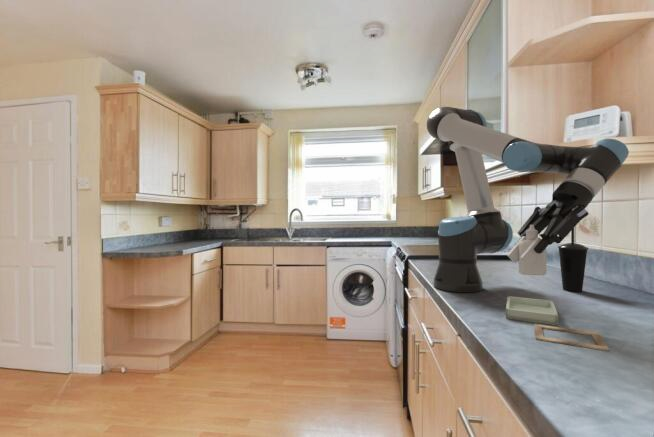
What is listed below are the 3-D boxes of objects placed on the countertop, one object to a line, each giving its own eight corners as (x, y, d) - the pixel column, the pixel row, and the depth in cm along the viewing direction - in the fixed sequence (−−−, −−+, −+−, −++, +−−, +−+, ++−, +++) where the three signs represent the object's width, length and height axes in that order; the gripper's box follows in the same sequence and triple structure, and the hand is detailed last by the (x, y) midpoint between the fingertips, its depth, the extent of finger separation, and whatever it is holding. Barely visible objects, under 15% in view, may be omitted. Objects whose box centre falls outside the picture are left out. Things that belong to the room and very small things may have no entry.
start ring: (535, 339, 63) (535, 337, 63) (534, 325, 71) (534, 323, 71) (608, 351, 58) (608, 349, 58) (598, 334, 65) (598, 332, 65)
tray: (505, 318, 75) (505, 308, 75) (507, 304, 87) (507, 296, 87) (558, 325, 70) (558, 315, 70) (552, 309, 81) (552, 300, 81)
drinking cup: (593, 294, 96) (593, 227, 95) (562, 292, 98) (563, 227, 98) (581, 288, 103) (582, 226, 102) (553, 286, 105) (554, 226, 105)
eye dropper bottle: (520, 271, 81) (519, 224, 81) (546, 273, 78) (546, 224, 78) (517, 274, 78) (517, 225, 78) (545, 276, 74) (545, 225, 74)
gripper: (621, 199, 72) (557, 277, 69) (557, 202, 88) (503, 265, 86) (601, 176, 71) (535, 253, 68) (539, 183, 87) (485, 246, 85)
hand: (518, 260), depth 77 cm, fingers closed on eye dropper bottle, 4 cm apart
